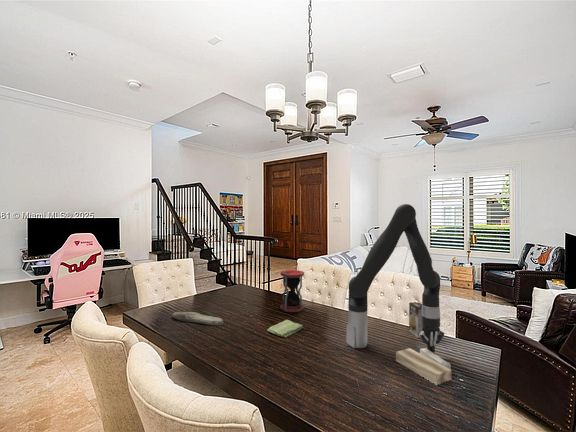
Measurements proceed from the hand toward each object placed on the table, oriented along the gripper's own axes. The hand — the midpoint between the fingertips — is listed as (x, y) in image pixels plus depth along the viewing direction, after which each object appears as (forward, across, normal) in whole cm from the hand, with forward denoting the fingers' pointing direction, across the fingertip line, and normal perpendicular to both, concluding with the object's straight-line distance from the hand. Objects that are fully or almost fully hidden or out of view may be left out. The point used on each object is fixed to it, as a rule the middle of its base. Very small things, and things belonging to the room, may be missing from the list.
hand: (431, 353), depth 130 cm
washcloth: (+1, -58, +43) cm, 72 cm away
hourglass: (0, -46, +78) cm, 91 cm away
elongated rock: (0, -107, +68) cm, 127 cm away
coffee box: (+2, +11, +23) cm, 25 cm away
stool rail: (+2, -12, -9) cm, 15 cm away
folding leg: (+1, -4, -6) cm, 7 cm away
